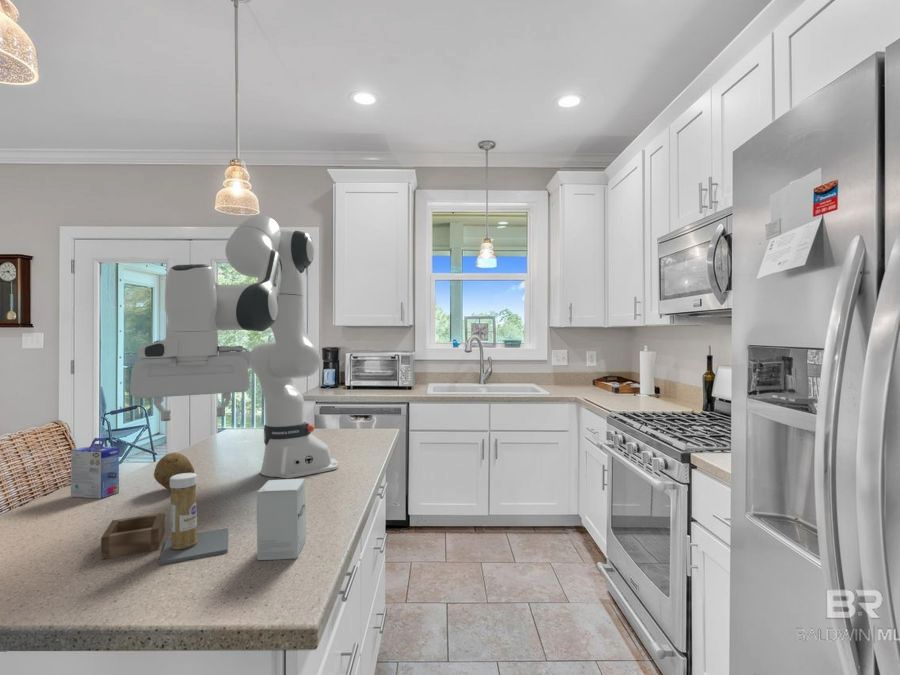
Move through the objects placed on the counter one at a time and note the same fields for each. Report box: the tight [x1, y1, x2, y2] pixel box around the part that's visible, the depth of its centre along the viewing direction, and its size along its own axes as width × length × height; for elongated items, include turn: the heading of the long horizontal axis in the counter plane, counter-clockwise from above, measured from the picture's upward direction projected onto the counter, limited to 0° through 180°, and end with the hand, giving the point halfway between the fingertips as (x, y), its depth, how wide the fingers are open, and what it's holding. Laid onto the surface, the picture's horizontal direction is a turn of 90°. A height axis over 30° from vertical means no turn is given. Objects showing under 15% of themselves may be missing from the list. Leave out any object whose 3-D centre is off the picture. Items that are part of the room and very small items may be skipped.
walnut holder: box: [100, 512, 166, 560], centre depth 92 cm, size 9×9×4 cm
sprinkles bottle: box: [169, 472, 198, 550], centre depth 90 cm, size 5×5×14 cm
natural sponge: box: [153, 452, 195, 491], centre depth 125 cm, size 9×9×10 cm
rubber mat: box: [158, 527, 229, 566], centre depth 91 cm, size 11×11×1 cm
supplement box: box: [256, 478, 307, 561], centre depth 89 cm, size 7×7×13 cm
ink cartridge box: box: [70, 437, 120, 499], centre depth 122 cm, size 10×6×14 cm, turn 78°
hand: (194, 418), depth 91 cm, fingers open, 8 cm apart
